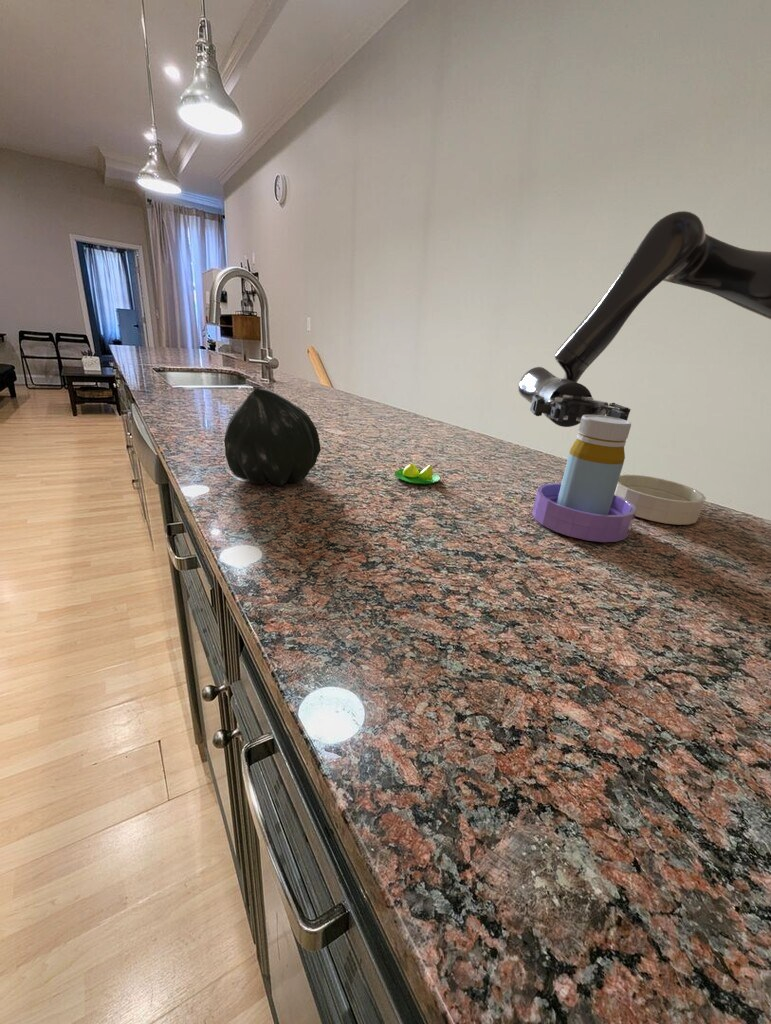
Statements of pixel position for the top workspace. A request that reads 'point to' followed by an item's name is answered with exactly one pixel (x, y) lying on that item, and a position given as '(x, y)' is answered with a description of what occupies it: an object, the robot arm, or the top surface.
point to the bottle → (594, 464)
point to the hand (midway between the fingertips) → (591, 417)
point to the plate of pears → (417, 475)
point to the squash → (271, 440)
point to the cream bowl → (661, 499)
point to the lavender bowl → (583, 517)
